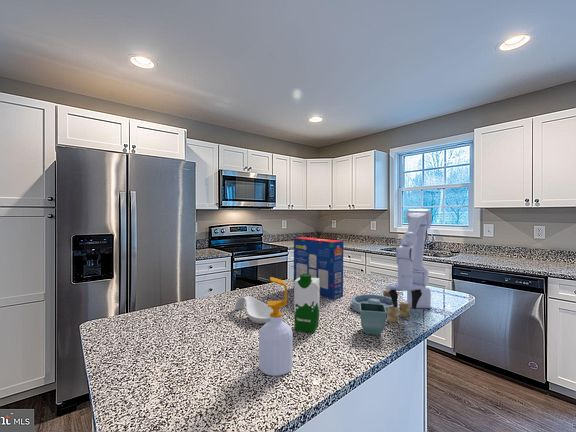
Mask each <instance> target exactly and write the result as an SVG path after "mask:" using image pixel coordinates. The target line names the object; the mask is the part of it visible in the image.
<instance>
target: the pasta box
mask: <svg viewBox="0 0 576 432" xmlns="http://www.w3.org/2000/svg"><path fill="white" fill-rule="evenodd" d="M301 274H310V275H311V278H319V287H320V290H319V294H320V295H319V297H322V298H326V299H329V300H337V299H340V298H343V297H344V240H337V239H327V238H318V237H317V238H316V237H306V236H303V237H301V236H300V237H293V282H294V281H295V280H296V279H297V278H299V277H300V275H301Z"/></svg>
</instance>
